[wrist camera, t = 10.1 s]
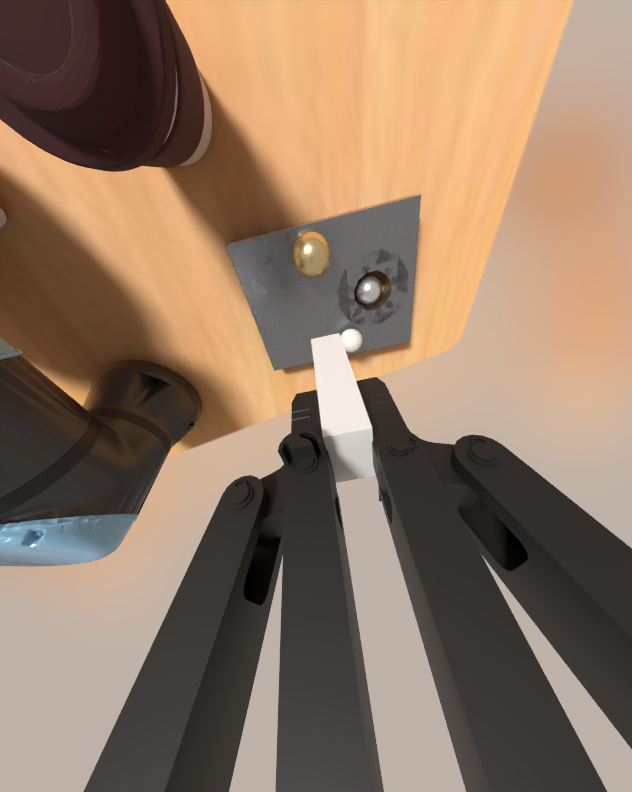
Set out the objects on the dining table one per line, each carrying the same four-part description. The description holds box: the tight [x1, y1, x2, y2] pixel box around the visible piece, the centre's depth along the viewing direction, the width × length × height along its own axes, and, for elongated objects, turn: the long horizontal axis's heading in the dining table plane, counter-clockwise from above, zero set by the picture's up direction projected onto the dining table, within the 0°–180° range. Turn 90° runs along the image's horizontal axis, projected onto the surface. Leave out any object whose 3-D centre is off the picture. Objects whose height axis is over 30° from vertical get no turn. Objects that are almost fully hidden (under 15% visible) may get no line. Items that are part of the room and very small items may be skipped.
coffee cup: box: [0, 0, 212, 172], centre depth 13 cm, size 10×10×15 cm
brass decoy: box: [292, 232, 332, 278], centre depth 23 cm, size 4×4×4 cm
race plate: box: [226, 195, 421, 371], centre depth 29 cm, size 20×16×2 cm
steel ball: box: [355, 276, 382, 304], centre depth 28 cm, size 3×3×3 cm
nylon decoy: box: [340, 329, 362, 352], centre depth 30 cm, size 3×3×3 cm
